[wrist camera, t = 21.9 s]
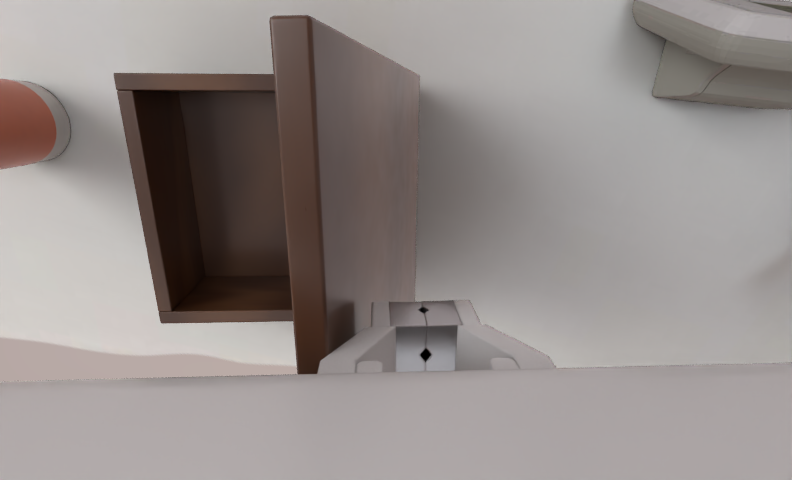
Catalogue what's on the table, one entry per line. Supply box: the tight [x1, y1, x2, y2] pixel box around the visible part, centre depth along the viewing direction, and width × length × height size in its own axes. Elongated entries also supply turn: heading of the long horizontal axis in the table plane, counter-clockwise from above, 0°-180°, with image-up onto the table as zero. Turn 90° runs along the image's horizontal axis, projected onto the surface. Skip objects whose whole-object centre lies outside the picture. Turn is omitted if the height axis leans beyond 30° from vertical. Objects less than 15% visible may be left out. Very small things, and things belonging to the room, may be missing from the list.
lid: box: [270, 15, 420, 374], centre depth 18 cm, size 18×16×1 cm
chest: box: [114, 73, 293, 323], centre depth 30 cm, size 17×16×7 cm
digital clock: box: [633, 0, 792, 109], centre depth 26 cm, size 16×9×11 cm, turn 73°
